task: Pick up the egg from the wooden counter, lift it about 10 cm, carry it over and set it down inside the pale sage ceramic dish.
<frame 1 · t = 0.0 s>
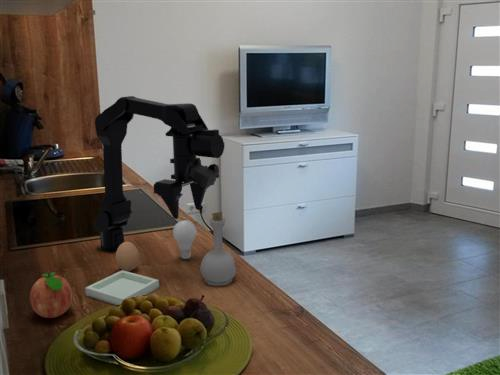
hand: (187, 214, 136), 15 cm above the worktop, fingers open, 9 cm apart
lightbulb: (185, 259, 145), on the worktop
dish: (123, 291, 125), on the worktop
fruit: (53, 315, 114), on the worktop
potion bottle: (219, 280, 131), on the worktop
egg: (128, 271, 137), on the worktop
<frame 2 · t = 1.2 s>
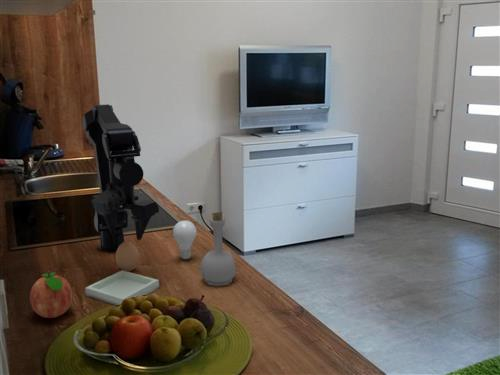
hand: (125, 236, 135), 9 cm above the worktop, fingers open, 9 cm apart
nothing on the worktop moved.
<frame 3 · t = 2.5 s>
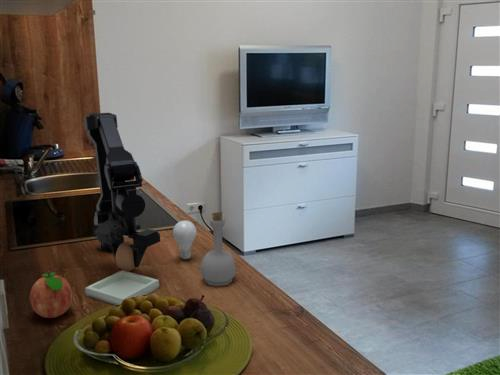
hand: (127, 264, 137), 2 cm above the worktop, fingers closed on egg, 6 cm apart
egg: (128, 271, 137), on the worktop, touching gripper
everything else where it was.
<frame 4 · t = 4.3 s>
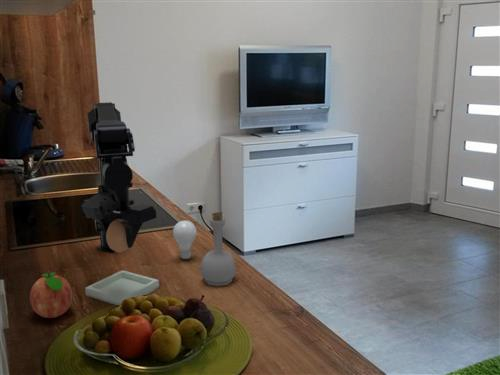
hand: (120, 245, 122), 12 cm above the worktop, fingers closed on egg, 6 cm apart
egg: (120, 252, 123), point 10 cm above the worktop, touching gripper
everything else where it was.
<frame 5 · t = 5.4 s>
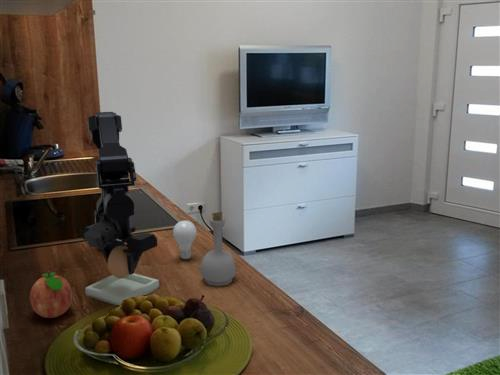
hand: (121, 271, 124), 5 cm above the worktop, fingers closed on egg, 6 cm apart
egg: (122, 278, 124), point 3 cm above the worktop, touching gripper
everything else where it was.
when the fingers open (4 cm above the worktop, at t = 6.2 s): egg drops 1 cm, resting on dish.
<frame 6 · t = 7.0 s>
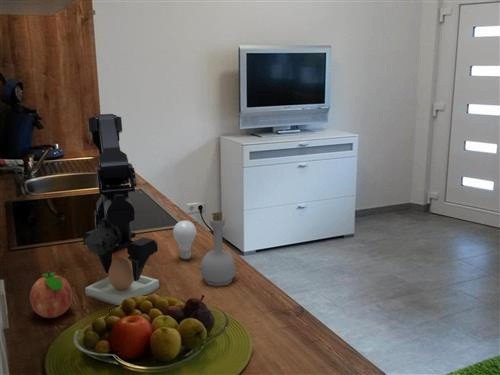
hand: (122, 276, 124), 4 cm above the worktop, fingers open, 9 cm apart
egg: (122, 289, 125), resting on dish
everything else where it was.
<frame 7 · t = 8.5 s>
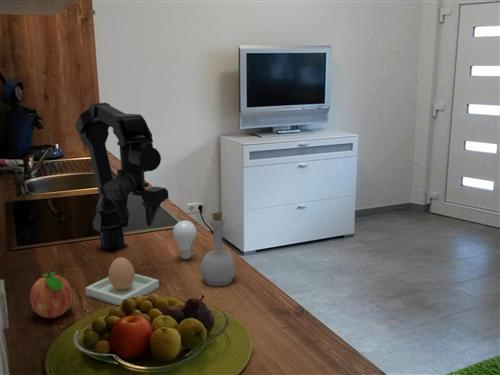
hand: (136, 223, 138), 12 cm above the worktop, fingers open, 9 cm apart
nothing on the worktop moved.
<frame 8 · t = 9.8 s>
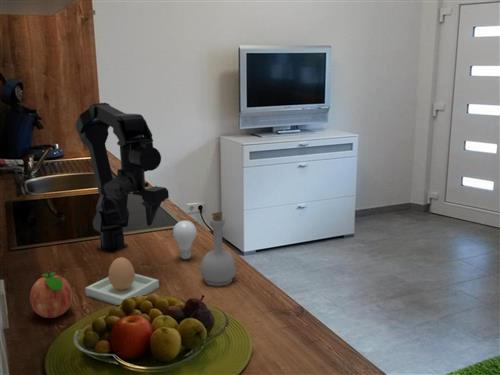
hand: (136, 222, 138), 12 cm above the worktop, fingers open, 9 cm apart
nothing on the worktop moved.
at the end: egg 0.1 cm from the dish (horizontally); egg resting on dish; the gripper is holding nothing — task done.
